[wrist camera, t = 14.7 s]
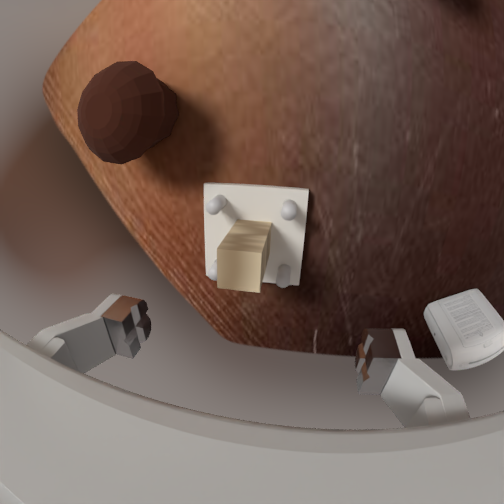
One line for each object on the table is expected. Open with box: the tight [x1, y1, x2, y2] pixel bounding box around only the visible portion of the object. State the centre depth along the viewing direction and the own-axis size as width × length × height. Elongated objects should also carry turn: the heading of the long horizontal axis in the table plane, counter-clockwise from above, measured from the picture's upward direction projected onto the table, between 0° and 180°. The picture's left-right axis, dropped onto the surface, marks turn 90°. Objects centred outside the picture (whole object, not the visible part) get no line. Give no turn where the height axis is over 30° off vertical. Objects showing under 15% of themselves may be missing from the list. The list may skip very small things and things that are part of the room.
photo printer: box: [424, 289, 504, 370], centre depth 29 cm, size 10×4×12 cm, turn 109°
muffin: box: [78, 61, 179, 164], centre depth 26 cm, size 12×11×10 cm
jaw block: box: [217, 219, 272, 293], centre depth 30 cm, size 4×4×9 cm
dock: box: [204, 182, 309, 288], centre depth 33 cm, size 12×12×4 cm
